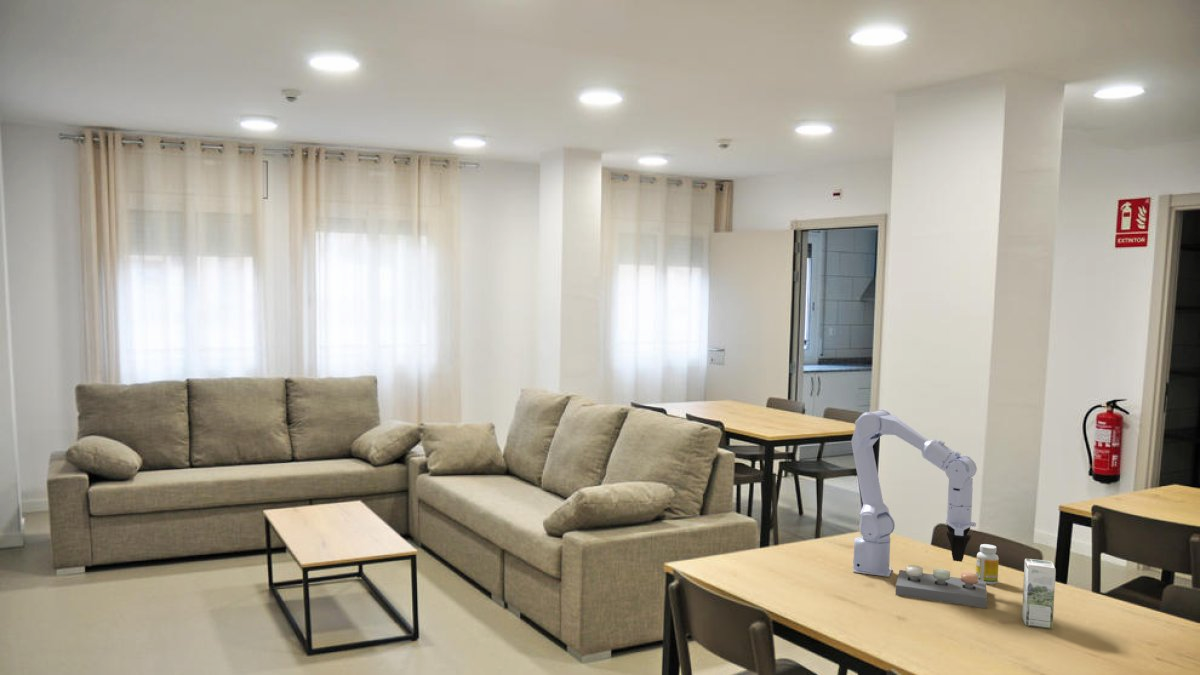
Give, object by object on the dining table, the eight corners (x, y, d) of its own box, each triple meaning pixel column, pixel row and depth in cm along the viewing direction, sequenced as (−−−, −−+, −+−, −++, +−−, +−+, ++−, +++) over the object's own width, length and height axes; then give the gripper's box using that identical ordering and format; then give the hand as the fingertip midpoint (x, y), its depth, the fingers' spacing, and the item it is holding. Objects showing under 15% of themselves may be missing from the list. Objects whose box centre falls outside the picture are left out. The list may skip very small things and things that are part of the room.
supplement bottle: (971, 580, 228) (973, 545, 228) (981, 577, 232) (983, 542, 231) (991, 586, 224) (993, 550, 224) (1001, 582, 228) (1002, 546, 227)
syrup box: (1048, 621, 199) (1051, 559, 199) (1053, 630, 194) (1056, 566, 193) (1021, 617, 201) (1024, 556, 201) (1025, 626, 195) (1028, 563, 195)
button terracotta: (960, 590, 214) (960, 576, 214) (960, 585, 217) (960, 571, 217) (977, 592, 212) (978, 578, 212) (977, 588, 216) (978, 574, 216)
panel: (895, 594, 215) (895, 585, 215) (899, 579, 228) (899, 569, 228) (986, 608, 207) (987, 598, 207) (985, 591, 220) (985, 581, 220)
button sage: (932, 586, 216) (933, 572, 216) (933, 581, 220) (933, 568, 220) (949, 588, 215) (950, 574, 215) (949, 584, 218) (950, 570, 218)
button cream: (905, 582, 219) (905, 568, 219) (906, 578, 223) (906, 564, 222) (922, 584, 217) (922, 570, 217) (922, 580, 221) (923, 566, 221)
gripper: (977, 512, 210) (975, 566, 211) (975, 500, 224) (973, 551, 224) (946, 509, 213) (944, 562, 214) (946, 497, 227) (944, 548, 227)
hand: (957, 556), depth 219 cm, fingers open, 7 cm apart
